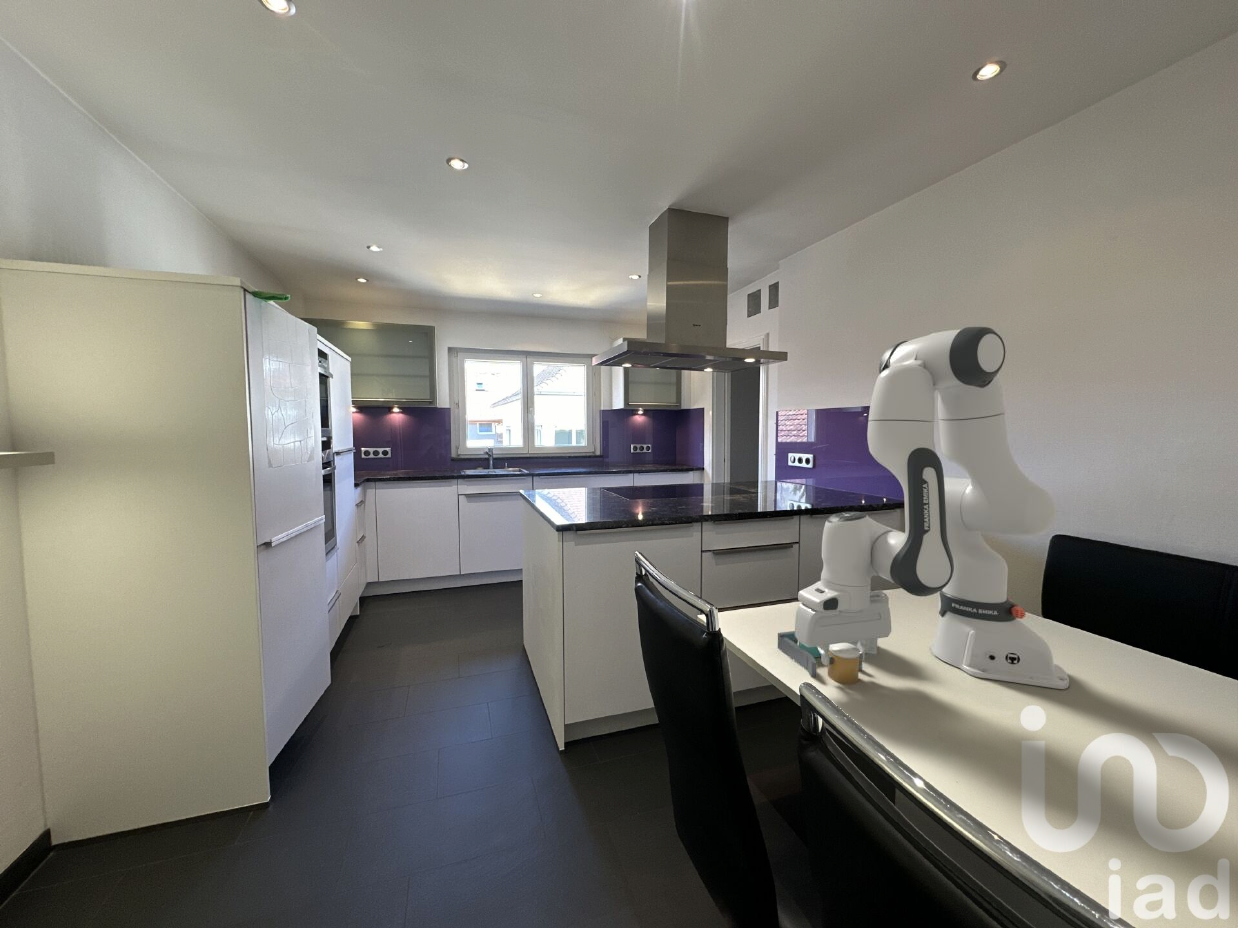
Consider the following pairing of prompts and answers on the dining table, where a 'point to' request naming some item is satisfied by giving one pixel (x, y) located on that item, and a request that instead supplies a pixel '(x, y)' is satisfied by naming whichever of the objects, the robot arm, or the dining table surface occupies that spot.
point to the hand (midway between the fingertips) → (842, 661)
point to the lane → (799, 652)
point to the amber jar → (844, 663)
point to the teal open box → (811, 650)
